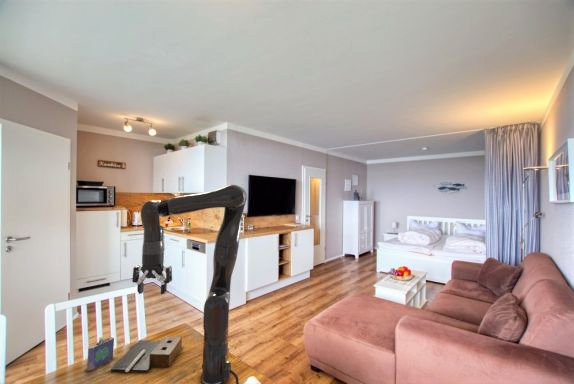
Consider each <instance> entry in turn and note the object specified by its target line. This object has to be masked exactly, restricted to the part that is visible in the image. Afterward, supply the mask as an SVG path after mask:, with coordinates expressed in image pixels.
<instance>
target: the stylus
mask: <svg viewBox="0 0 574 384" xmlns="http://www.w3.org/2000/svg"><path fill="white" fill-rule="evenodd" d="M145 352H146V350H145V349H144V350H142V351H141V353H140V354H139V355H138V356H137V357H136V358H135V359H134V360H133V362H132V363H131V364H130V365H129V366H128V367H127V368H126V369H125V372H124V373H129V372H128V371H129V370H130V369H131V368H132V367H133V366H134V365H135V363H136V362H137V361H138V360H139V359H140V358H141V356H142V355H143V354H144V353H145Z"/></svg>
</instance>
